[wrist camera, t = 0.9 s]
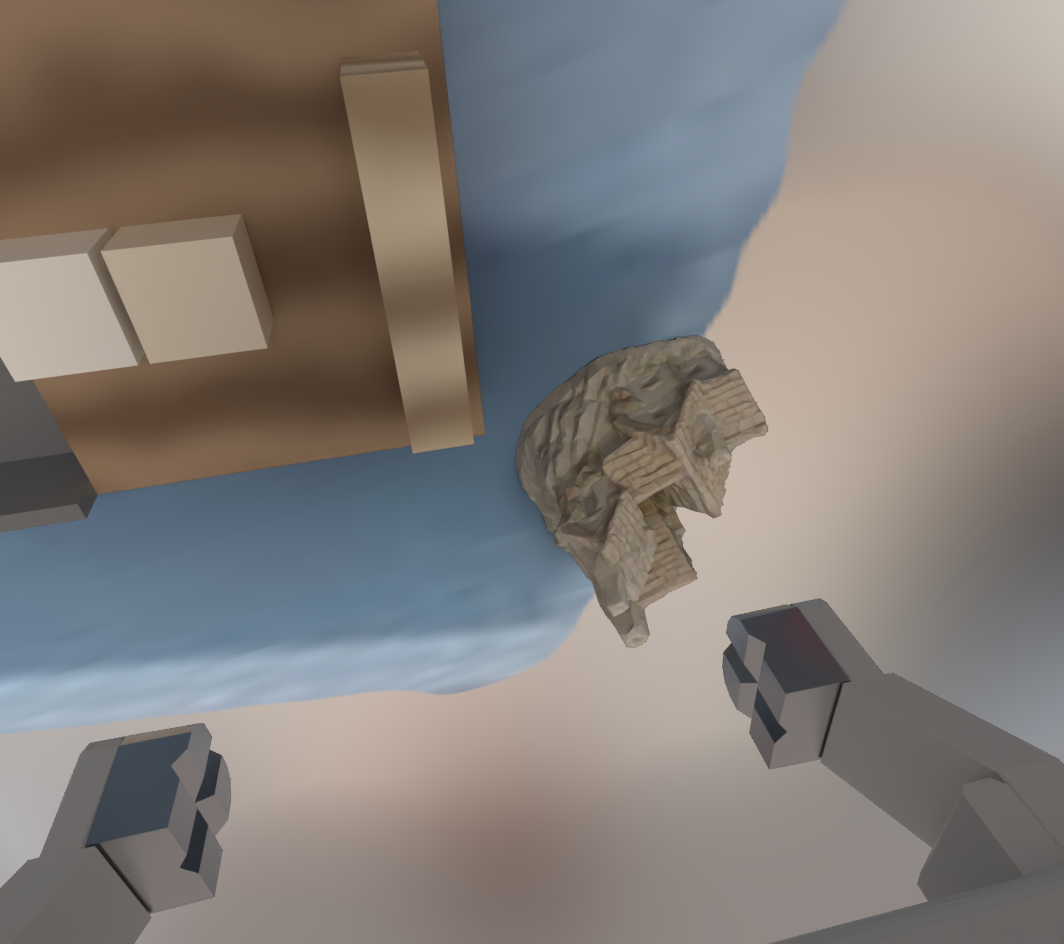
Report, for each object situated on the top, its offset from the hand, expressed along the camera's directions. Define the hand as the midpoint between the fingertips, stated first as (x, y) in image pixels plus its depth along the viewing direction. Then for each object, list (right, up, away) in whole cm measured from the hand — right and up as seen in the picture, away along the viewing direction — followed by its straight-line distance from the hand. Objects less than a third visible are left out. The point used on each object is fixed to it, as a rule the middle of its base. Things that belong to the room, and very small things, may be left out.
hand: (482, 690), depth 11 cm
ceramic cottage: (+7, +5, +37) cm, 38 cm away
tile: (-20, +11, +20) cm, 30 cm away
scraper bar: (-5, +14, +22) cm, 26 cm away
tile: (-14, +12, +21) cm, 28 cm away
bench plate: (-14, +15, +24) cm, 31 cm away
